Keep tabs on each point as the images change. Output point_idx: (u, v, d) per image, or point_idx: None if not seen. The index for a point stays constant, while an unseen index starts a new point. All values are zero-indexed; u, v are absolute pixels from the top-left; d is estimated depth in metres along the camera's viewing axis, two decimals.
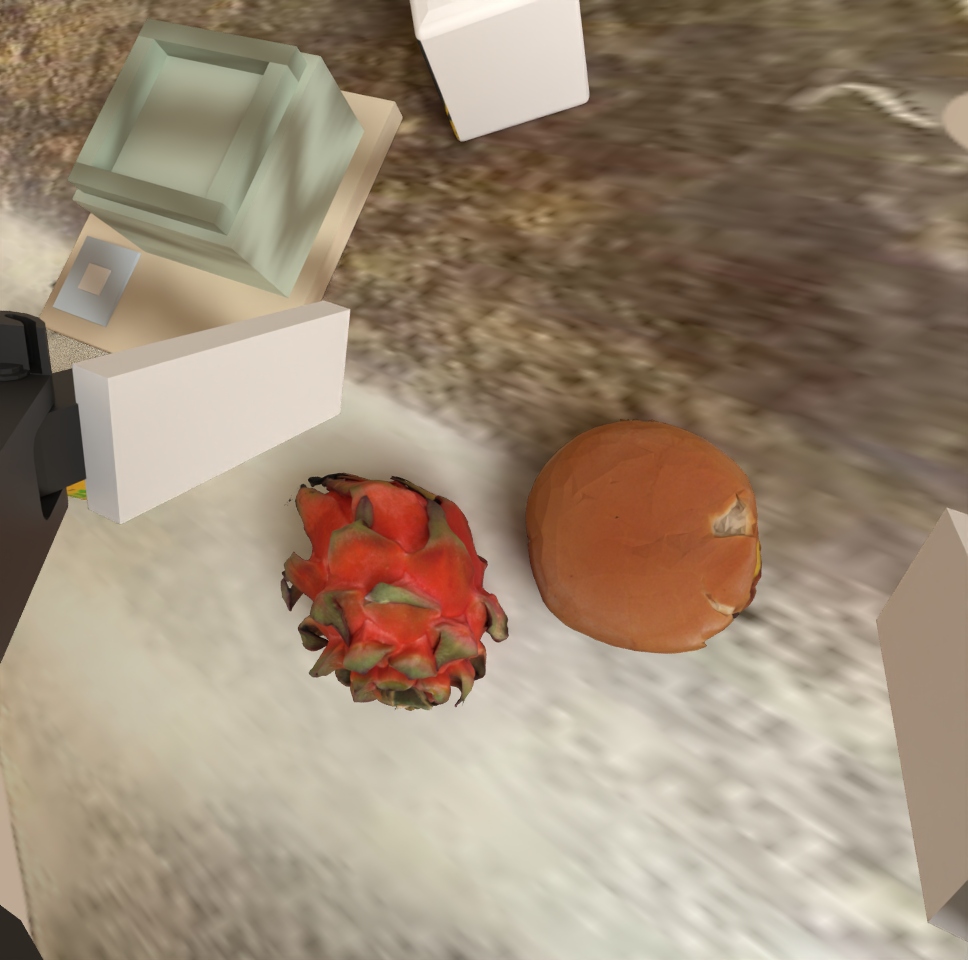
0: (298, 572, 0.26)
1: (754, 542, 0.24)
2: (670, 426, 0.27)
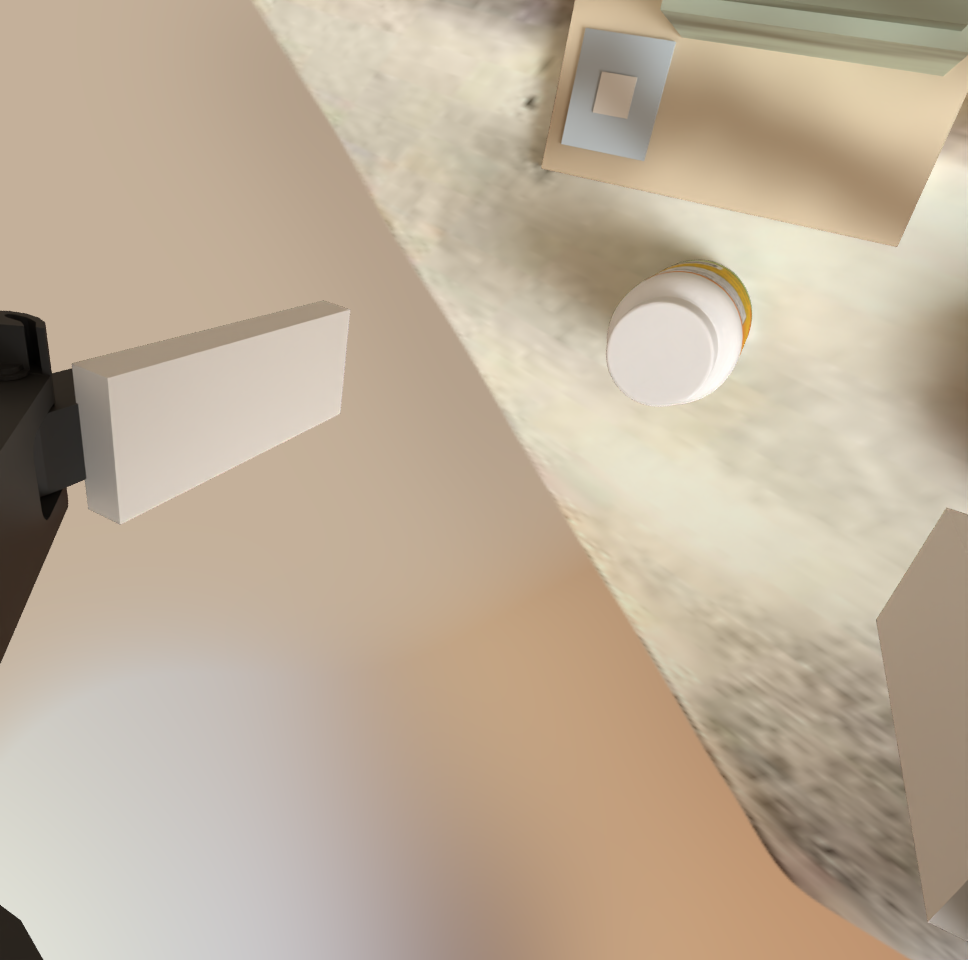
0: None
1: None
2: None
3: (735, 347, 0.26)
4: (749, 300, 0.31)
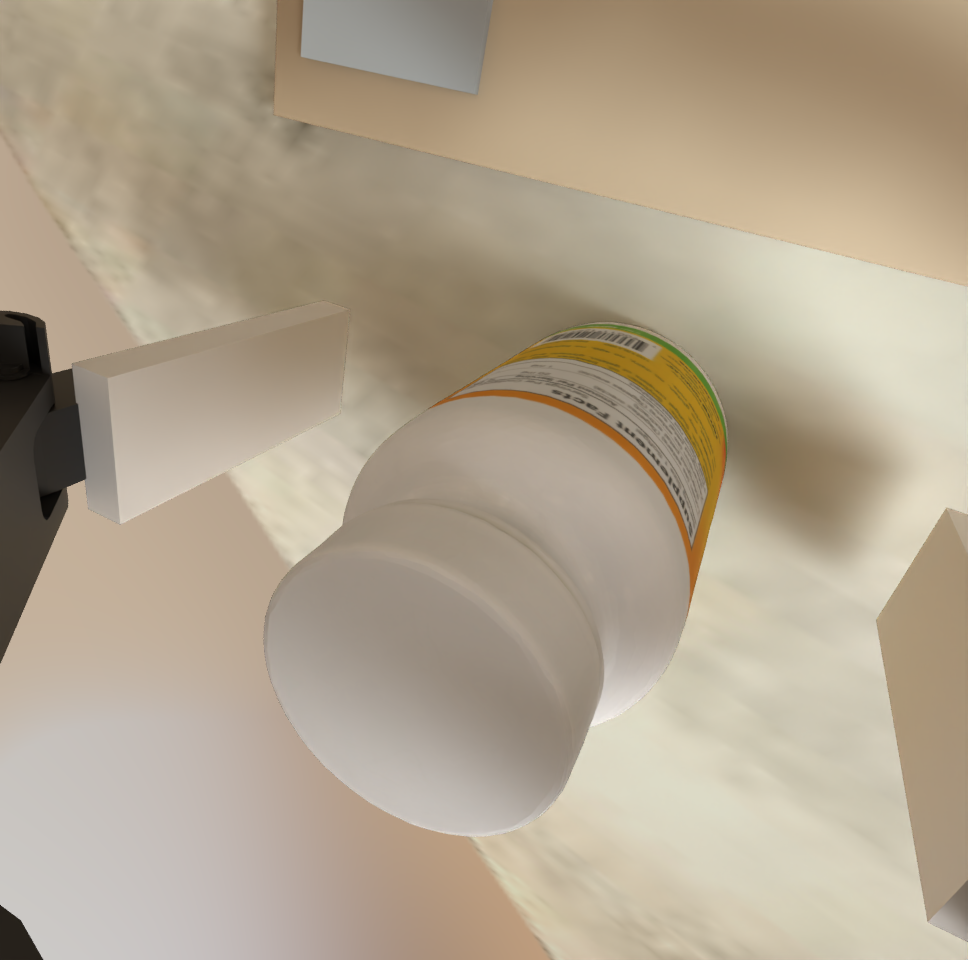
0: None
1: None
2: None
3: (667, 633, 0.09)
4: (721, 420, 0.13)
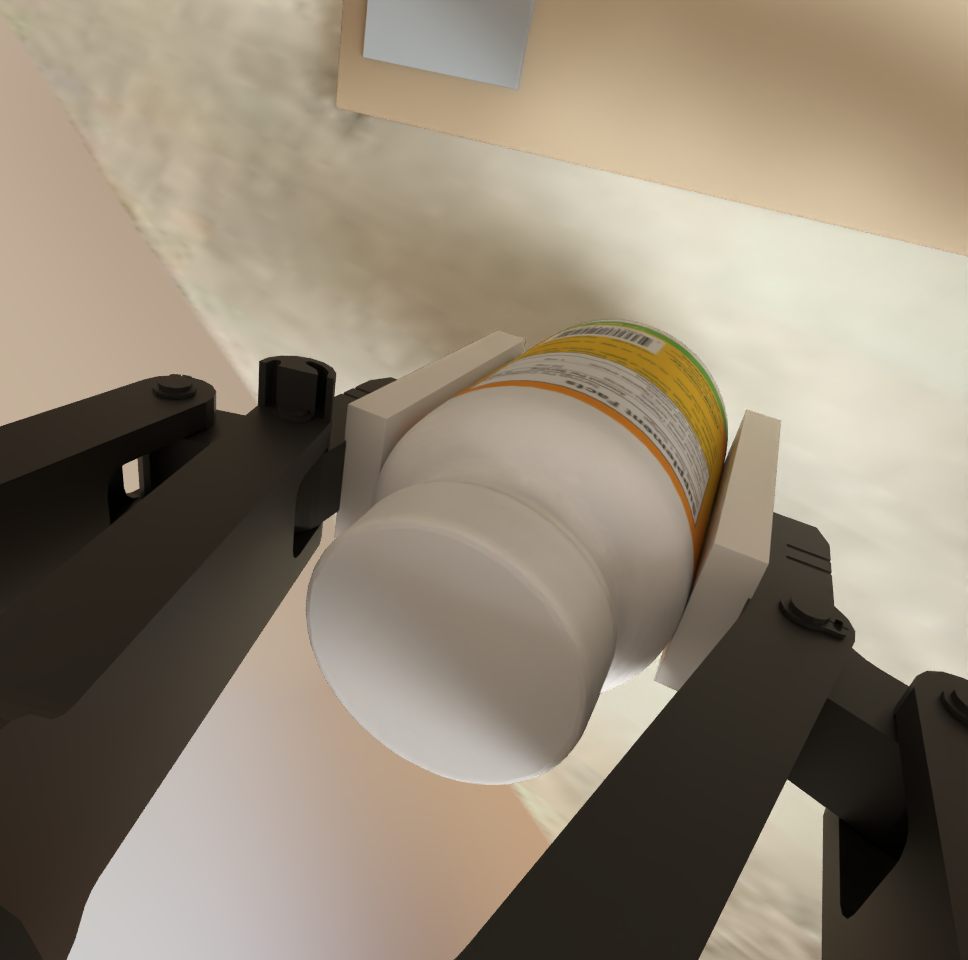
0: None
1: None
2: None
3: (673, 602, 0.09)
4: (721, 412, 0.14)
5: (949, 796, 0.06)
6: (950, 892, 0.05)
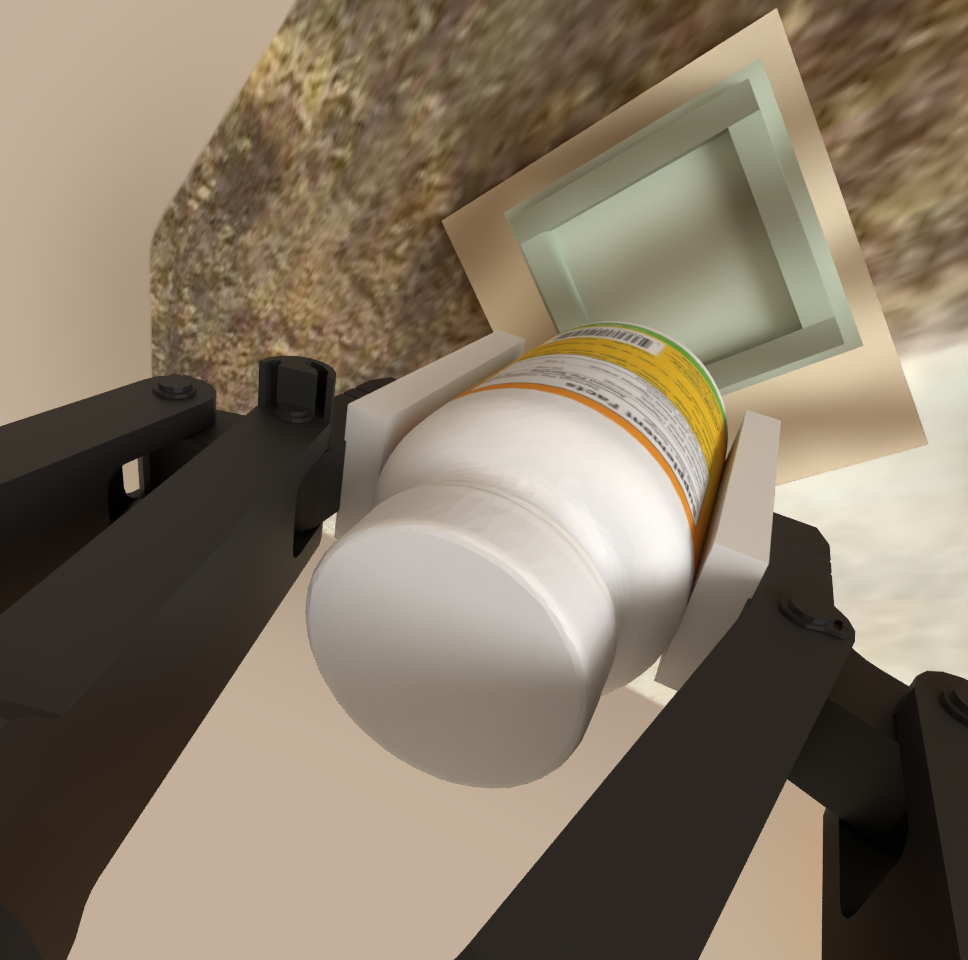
0: None
1: None
2: None
3: (673, 605, 0.09)
4: (722, 413, 0.14)
5: (949, 796, 0.06)
6: (950, 892, 0.05)
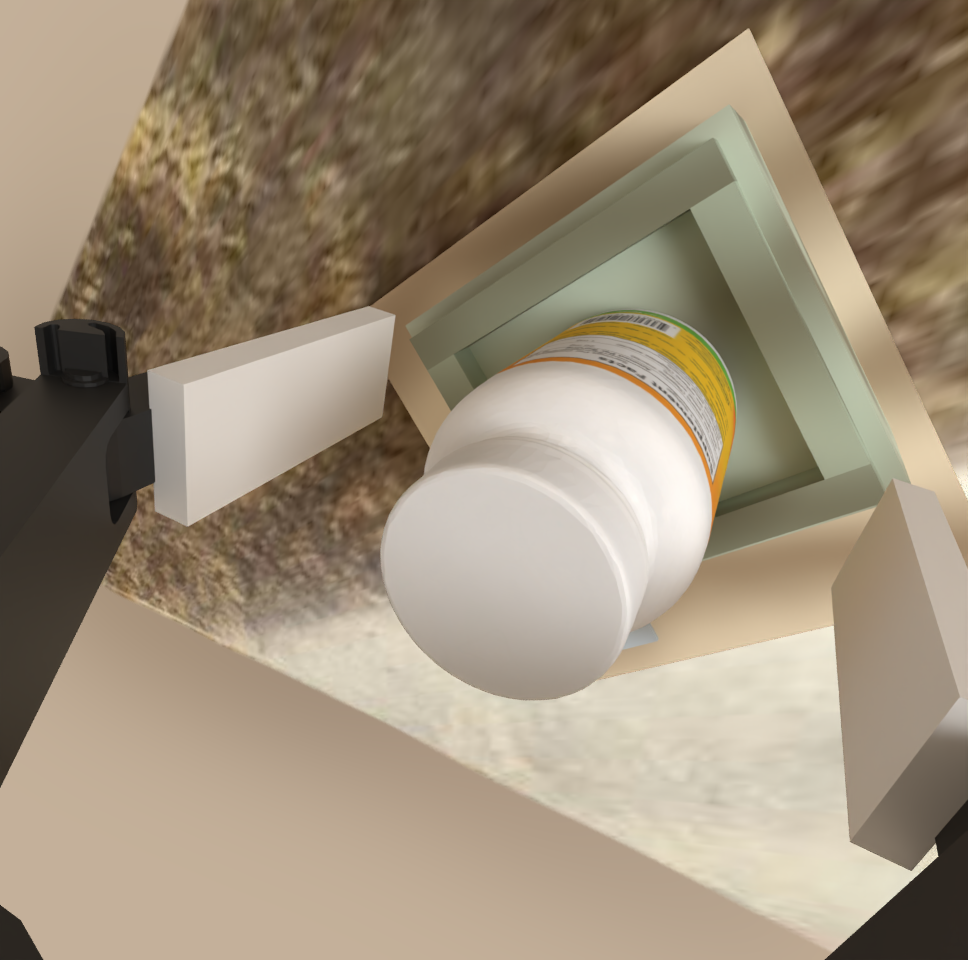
0: None
1: None
2: None
3: (695, 546, 0.11)
4: (731, 391, 0.16)
5: None
6: None
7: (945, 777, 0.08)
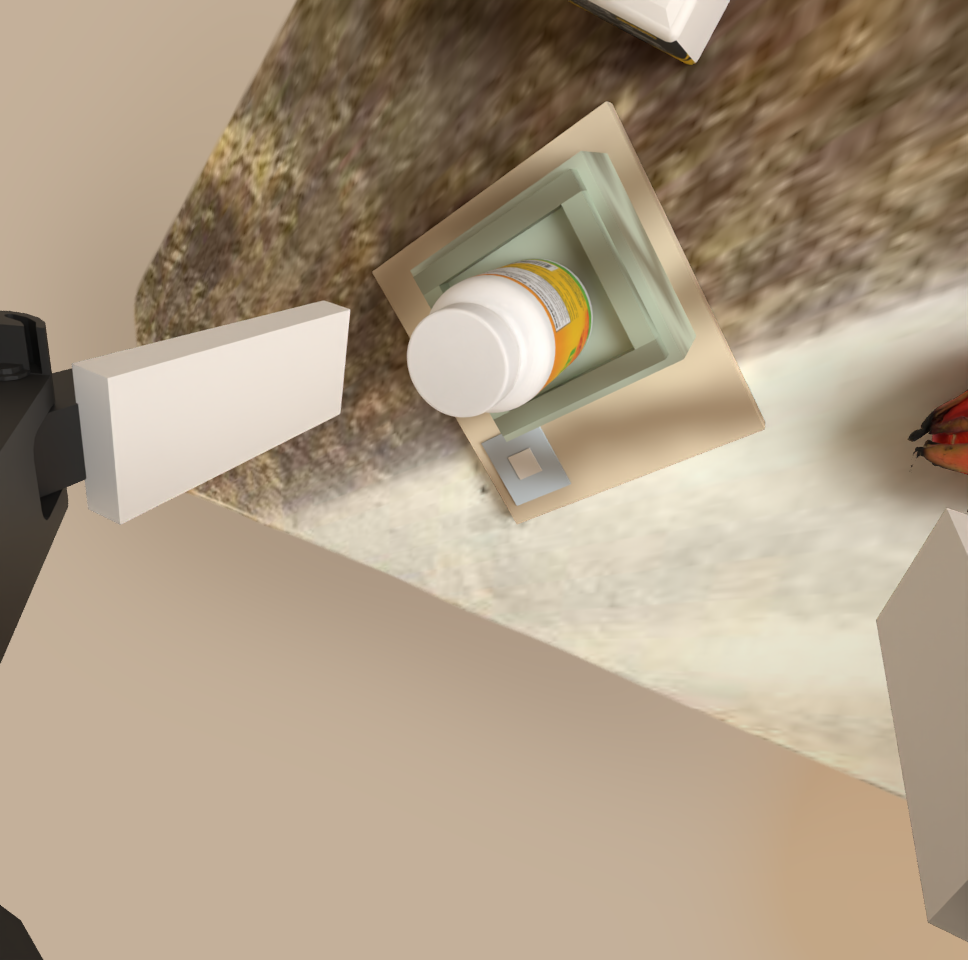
0: None
1: None
2: None
3: (544, 355, 0.25)
4: (586, 302, 0.30)
5: None
6: None
7: None
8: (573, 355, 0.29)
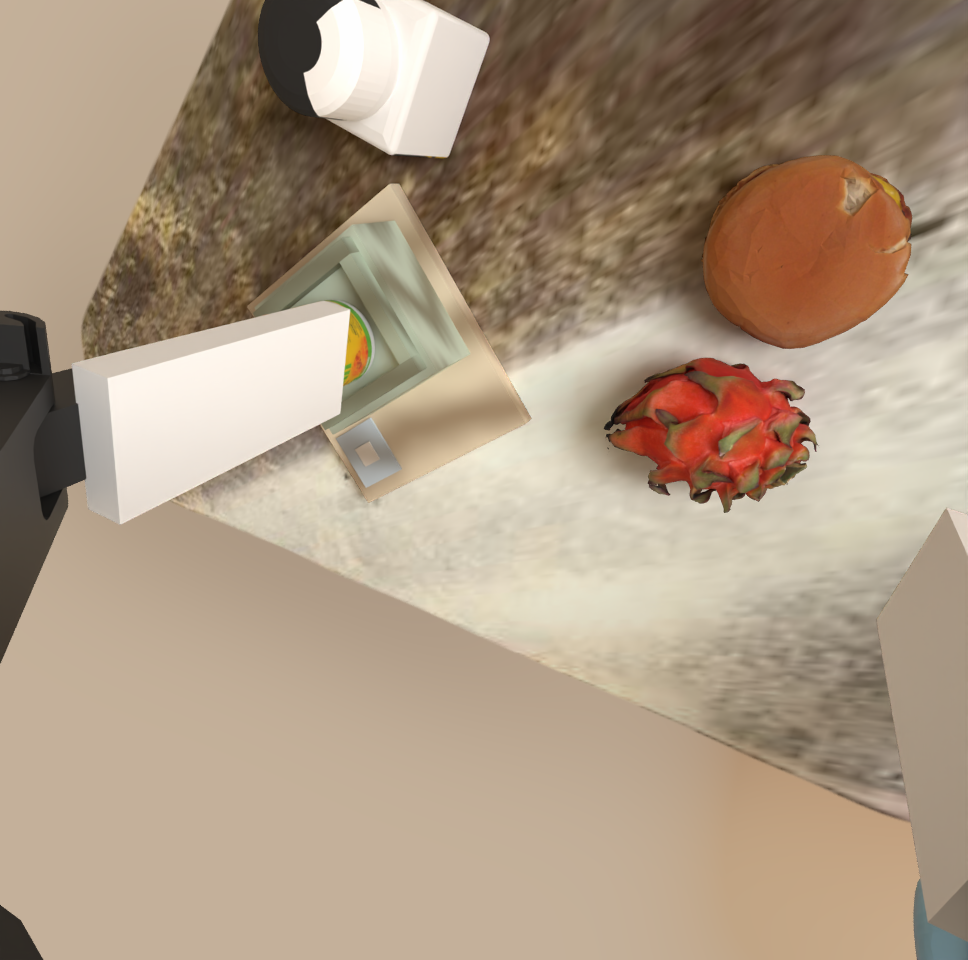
0: (663, 476, 0.38)
1: (881, 192, 0.31)
2: (758, 179, 0.33)
3: None
4: (364, 331, 0.41)
5: None
6: None
7: None
8: (350, 369, 0.40)
